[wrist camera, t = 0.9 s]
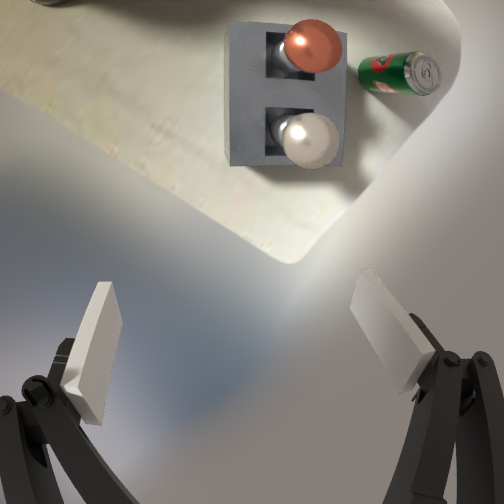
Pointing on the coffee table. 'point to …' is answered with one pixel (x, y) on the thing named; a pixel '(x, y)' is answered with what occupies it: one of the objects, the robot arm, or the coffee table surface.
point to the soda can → (400, 73)
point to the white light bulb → (306, 138)
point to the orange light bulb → (308, 48)
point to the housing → (273, 94)
